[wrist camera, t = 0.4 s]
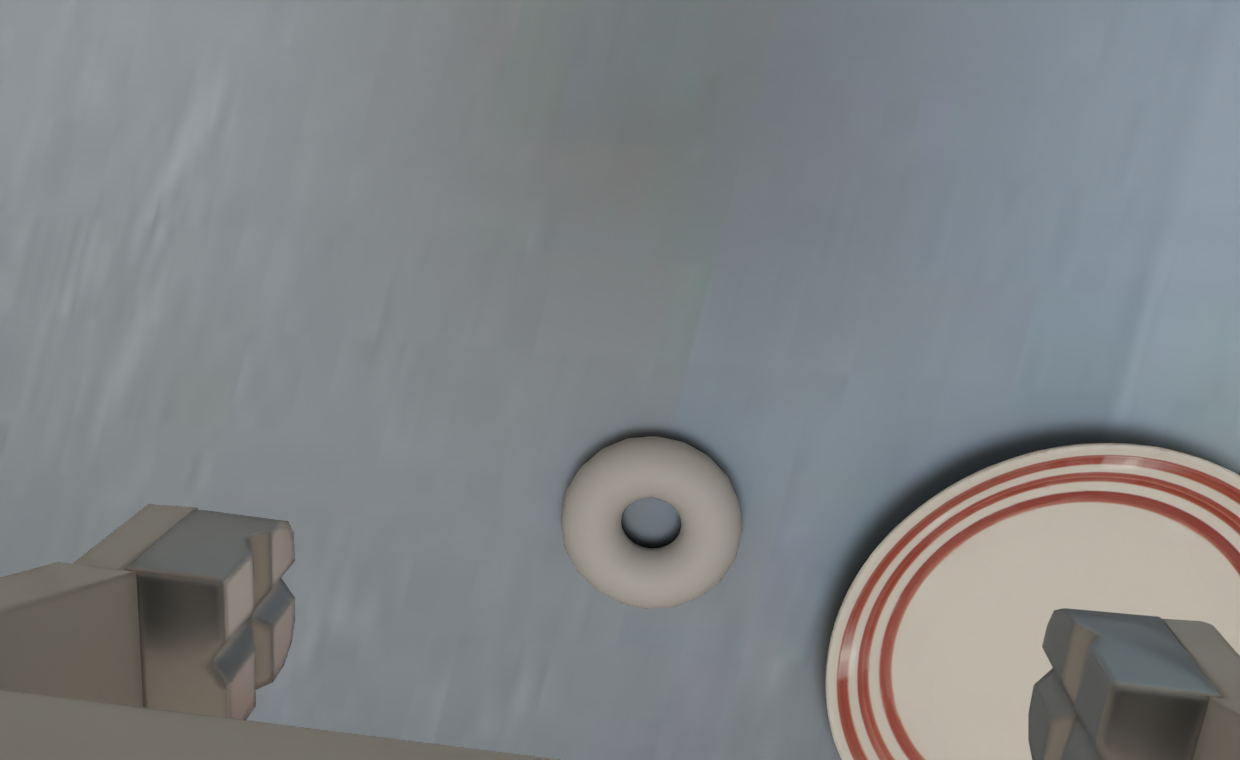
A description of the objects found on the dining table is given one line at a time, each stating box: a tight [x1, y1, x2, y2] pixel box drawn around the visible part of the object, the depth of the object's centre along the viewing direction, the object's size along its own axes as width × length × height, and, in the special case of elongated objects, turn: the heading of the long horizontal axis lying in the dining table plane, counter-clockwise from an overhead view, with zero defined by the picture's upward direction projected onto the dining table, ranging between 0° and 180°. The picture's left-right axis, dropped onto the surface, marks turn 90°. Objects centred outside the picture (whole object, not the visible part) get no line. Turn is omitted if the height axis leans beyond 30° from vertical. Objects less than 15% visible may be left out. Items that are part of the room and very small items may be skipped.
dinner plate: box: [825, 443, 1240, 760], centre depth 61 cm, size 27×27×3 cm
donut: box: [561, 436, 742, 609], centre depth 61 cm, size 10×4×10 cm
